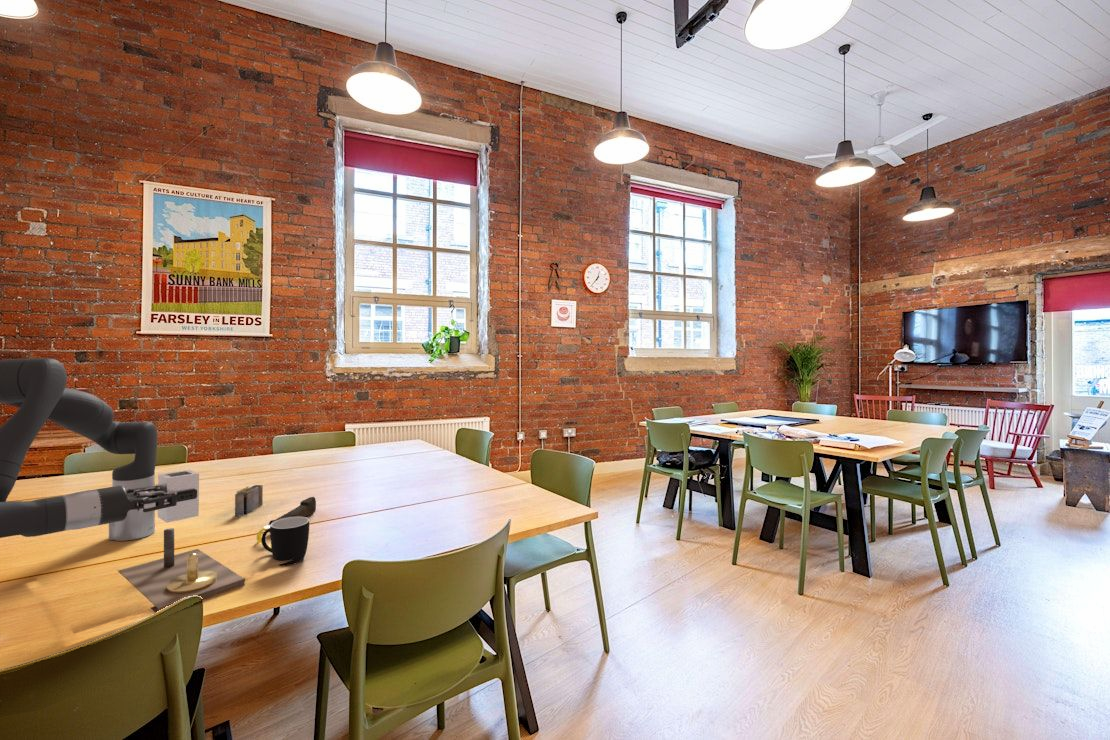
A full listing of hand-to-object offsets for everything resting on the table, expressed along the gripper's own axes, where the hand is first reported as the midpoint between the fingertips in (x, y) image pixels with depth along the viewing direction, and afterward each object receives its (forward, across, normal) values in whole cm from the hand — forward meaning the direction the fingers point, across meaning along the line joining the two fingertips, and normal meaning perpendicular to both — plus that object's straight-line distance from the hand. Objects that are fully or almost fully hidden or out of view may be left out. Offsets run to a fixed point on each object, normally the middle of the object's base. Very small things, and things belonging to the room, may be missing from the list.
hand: (191, 490), depth 112 cm
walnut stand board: (-2, +1, +21) cm, 21 cm away
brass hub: (-2, -7, +20) cm, 21 cm away
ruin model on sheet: (+30, +43, +21) cm, 56 cm away
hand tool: (+34, +20, +21) cm, 45 cm away
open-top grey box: (-2, 0, +6) cm, 6 cm away
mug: (+18, -7, +21) cm, 29 cm away
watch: (+19, +5, +21) cm, 29 cm away
